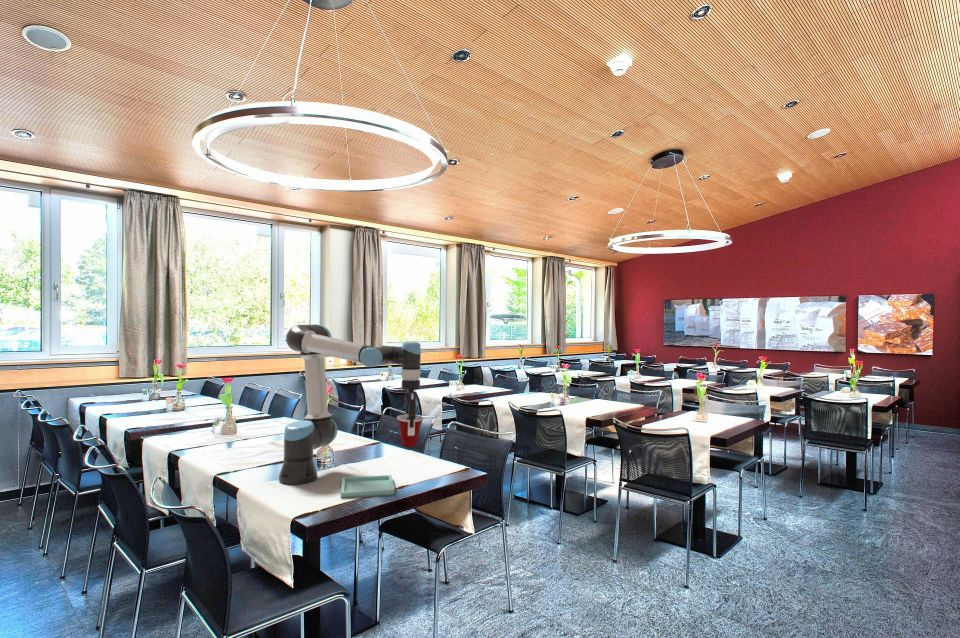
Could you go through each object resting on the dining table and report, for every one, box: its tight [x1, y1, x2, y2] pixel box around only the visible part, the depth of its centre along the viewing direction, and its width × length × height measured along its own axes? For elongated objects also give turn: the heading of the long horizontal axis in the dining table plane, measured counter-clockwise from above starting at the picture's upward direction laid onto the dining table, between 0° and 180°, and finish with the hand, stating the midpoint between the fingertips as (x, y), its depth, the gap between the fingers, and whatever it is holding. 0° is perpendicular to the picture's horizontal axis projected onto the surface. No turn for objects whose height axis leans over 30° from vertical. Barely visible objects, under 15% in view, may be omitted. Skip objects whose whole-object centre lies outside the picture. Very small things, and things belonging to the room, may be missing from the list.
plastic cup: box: [396, 413, 424, 448], centre depth 219 cm, size 11×11×12 cm
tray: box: [340, 474, 395, 499], centre depth 210 cm, size 20×20×2 cm
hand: (409, 432), depth 219 cm, fingers closed on plastic cup, 11 cm apart
